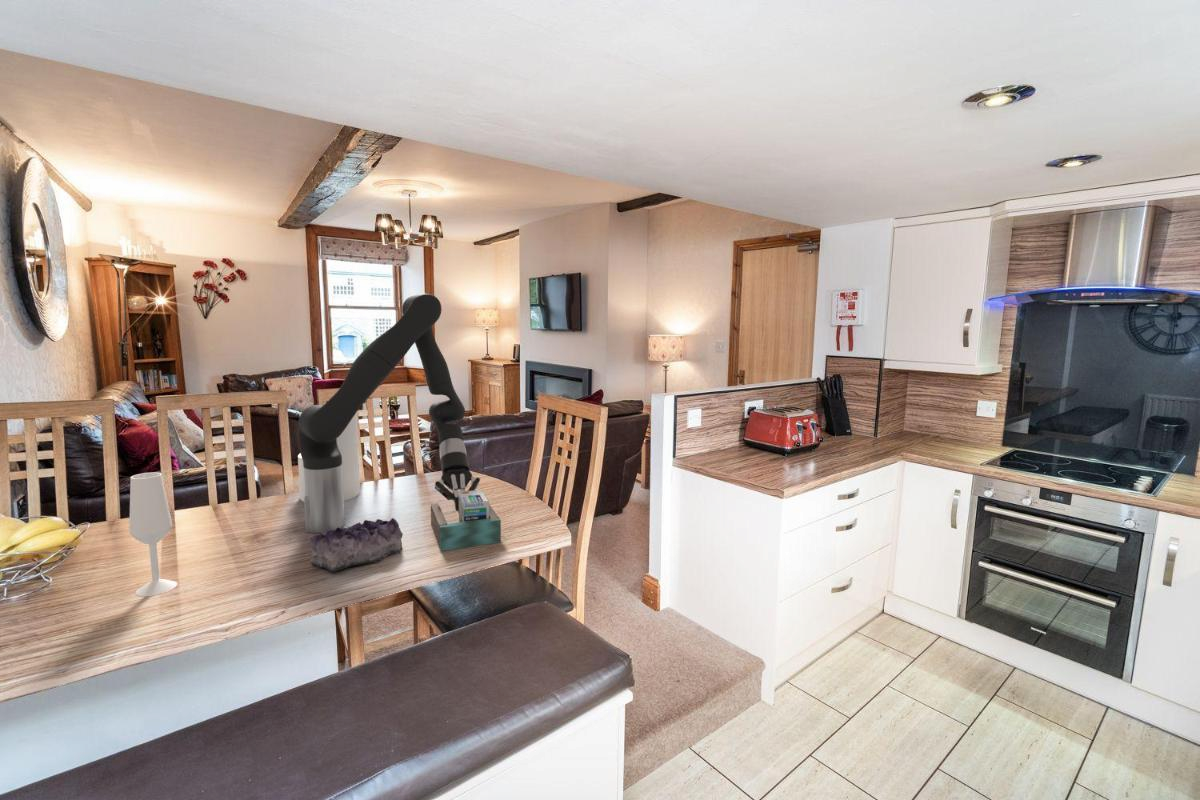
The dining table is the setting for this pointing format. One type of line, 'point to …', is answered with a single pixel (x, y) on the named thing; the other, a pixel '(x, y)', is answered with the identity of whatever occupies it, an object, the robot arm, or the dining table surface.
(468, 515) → the light bulb box
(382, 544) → the geode
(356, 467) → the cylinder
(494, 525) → the channel
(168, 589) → the champagne flute
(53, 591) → the dining table surface
